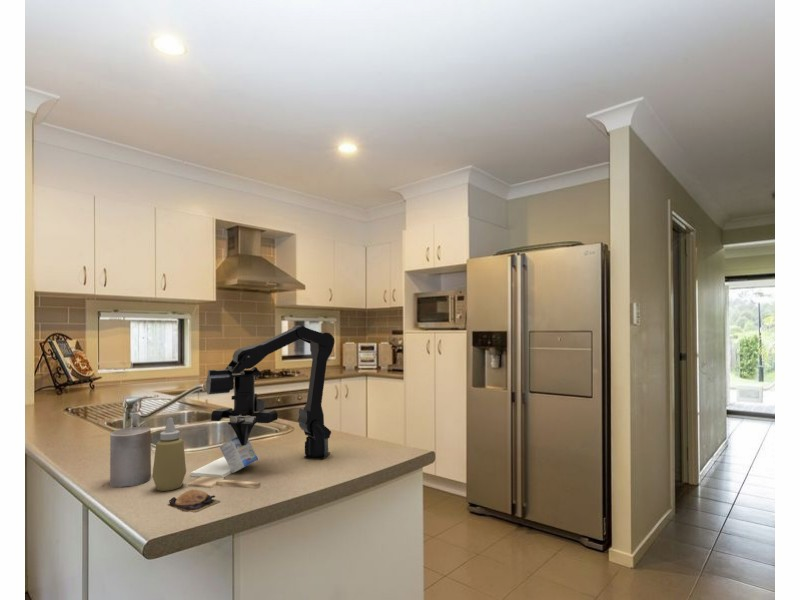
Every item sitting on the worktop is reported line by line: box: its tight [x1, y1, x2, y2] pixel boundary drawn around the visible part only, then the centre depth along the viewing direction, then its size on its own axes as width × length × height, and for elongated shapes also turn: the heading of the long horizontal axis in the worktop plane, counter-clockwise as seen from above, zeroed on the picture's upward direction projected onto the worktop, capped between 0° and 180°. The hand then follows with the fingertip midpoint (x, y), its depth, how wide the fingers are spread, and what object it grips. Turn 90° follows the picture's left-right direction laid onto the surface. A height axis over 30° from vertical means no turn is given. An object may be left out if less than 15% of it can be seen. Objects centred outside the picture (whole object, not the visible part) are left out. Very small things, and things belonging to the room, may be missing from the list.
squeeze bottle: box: [151, 417, 187, 492], centre depth 123 cm, size 8×8×18 cm
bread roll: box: [167, 489, 221, 513], centre depth 112 cm, size 11×8×4 cm
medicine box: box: [219, 436, 259, 474], centre depth 138 cm, size 8×4×9 cm, turn 167°
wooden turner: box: [187, 476, 261, 489], centre depth 125 cm, size 19×6×1 cm, turn 77°
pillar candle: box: [109, 425, 152, 488], centre depth 128 cm, size 10×10×15 cm
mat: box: [190, 456, 233, 478], centre depth 139 cm, size 10×16×1 cm, turn 167°
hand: (243, 445), depth 137 cm, fingers closed
